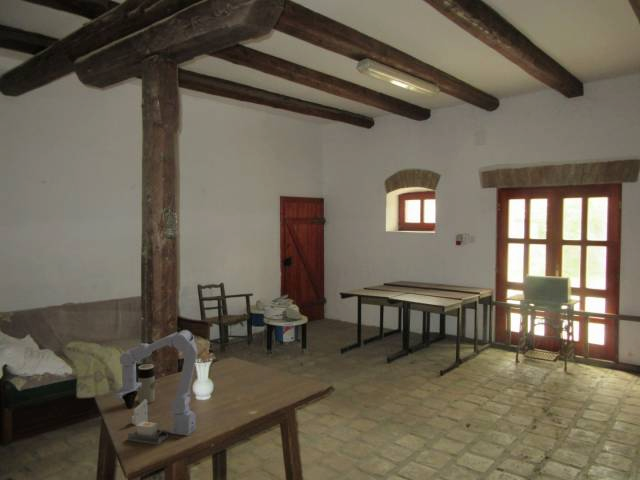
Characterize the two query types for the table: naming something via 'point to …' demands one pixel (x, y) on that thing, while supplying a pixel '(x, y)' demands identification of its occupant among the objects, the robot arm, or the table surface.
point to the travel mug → (146, 383)
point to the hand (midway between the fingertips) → (129, 408)
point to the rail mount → (149, 437)
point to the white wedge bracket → (140, 413)
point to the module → (147, 429)
